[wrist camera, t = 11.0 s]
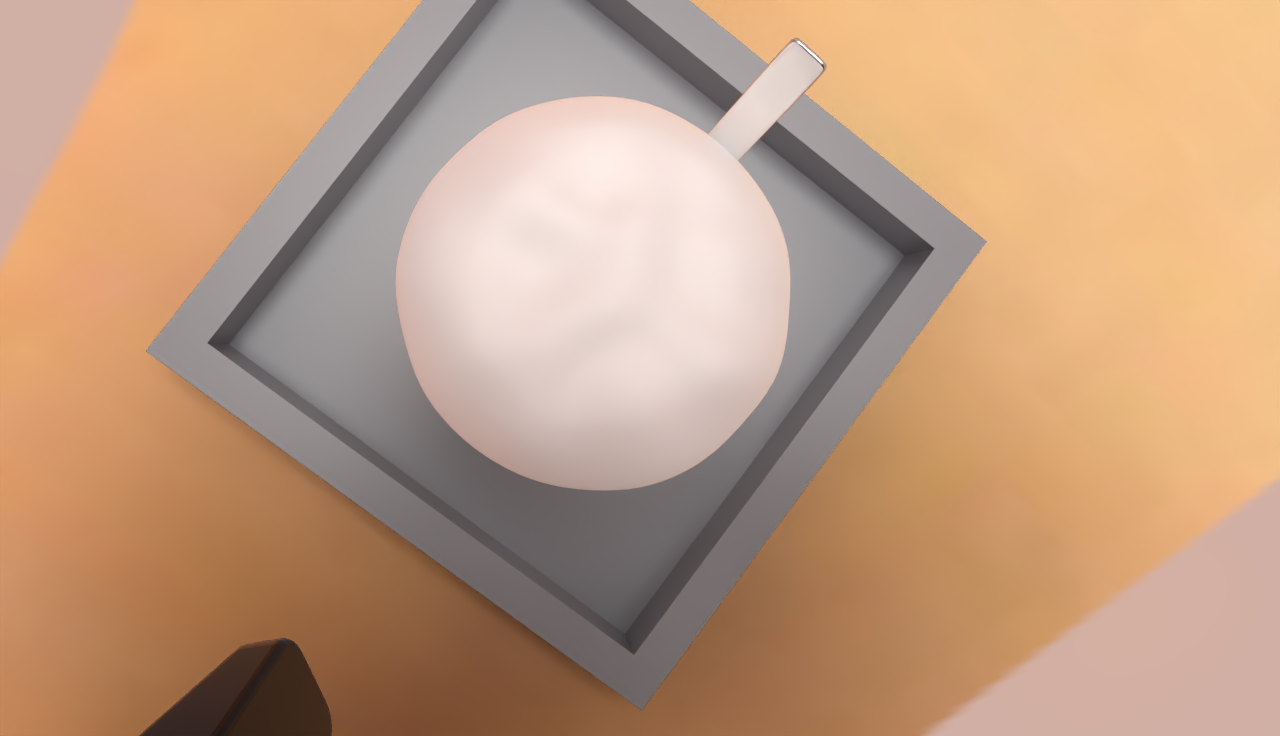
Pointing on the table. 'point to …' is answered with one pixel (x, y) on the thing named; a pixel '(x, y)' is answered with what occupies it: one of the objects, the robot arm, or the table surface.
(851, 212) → the tray
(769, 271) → the milkshake
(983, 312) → the table surface
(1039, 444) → the table surface
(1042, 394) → the table surface
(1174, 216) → the table surface
